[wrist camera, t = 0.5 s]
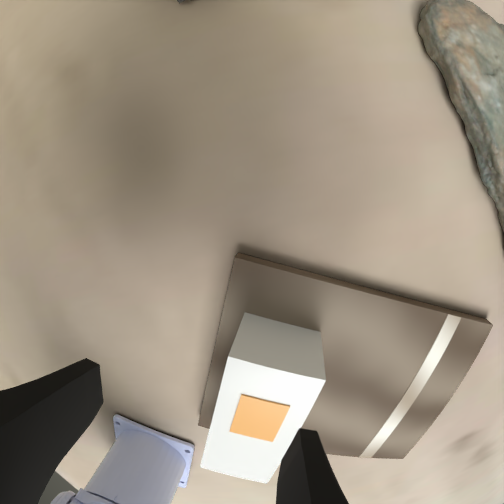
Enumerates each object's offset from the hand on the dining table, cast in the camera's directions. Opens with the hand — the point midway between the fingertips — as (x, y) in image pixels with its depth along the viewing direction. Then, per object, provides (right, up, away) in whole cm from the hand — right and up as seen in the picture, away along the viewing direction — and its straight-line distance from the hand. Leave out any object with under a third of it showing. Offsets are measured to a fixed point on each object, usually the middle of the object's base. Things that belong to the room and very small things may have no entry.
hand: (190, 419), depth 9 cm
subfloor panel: (+8, -3, +10) cm, 13 cm away
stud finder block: (+3, -3, +9) cm, 10 cm away
